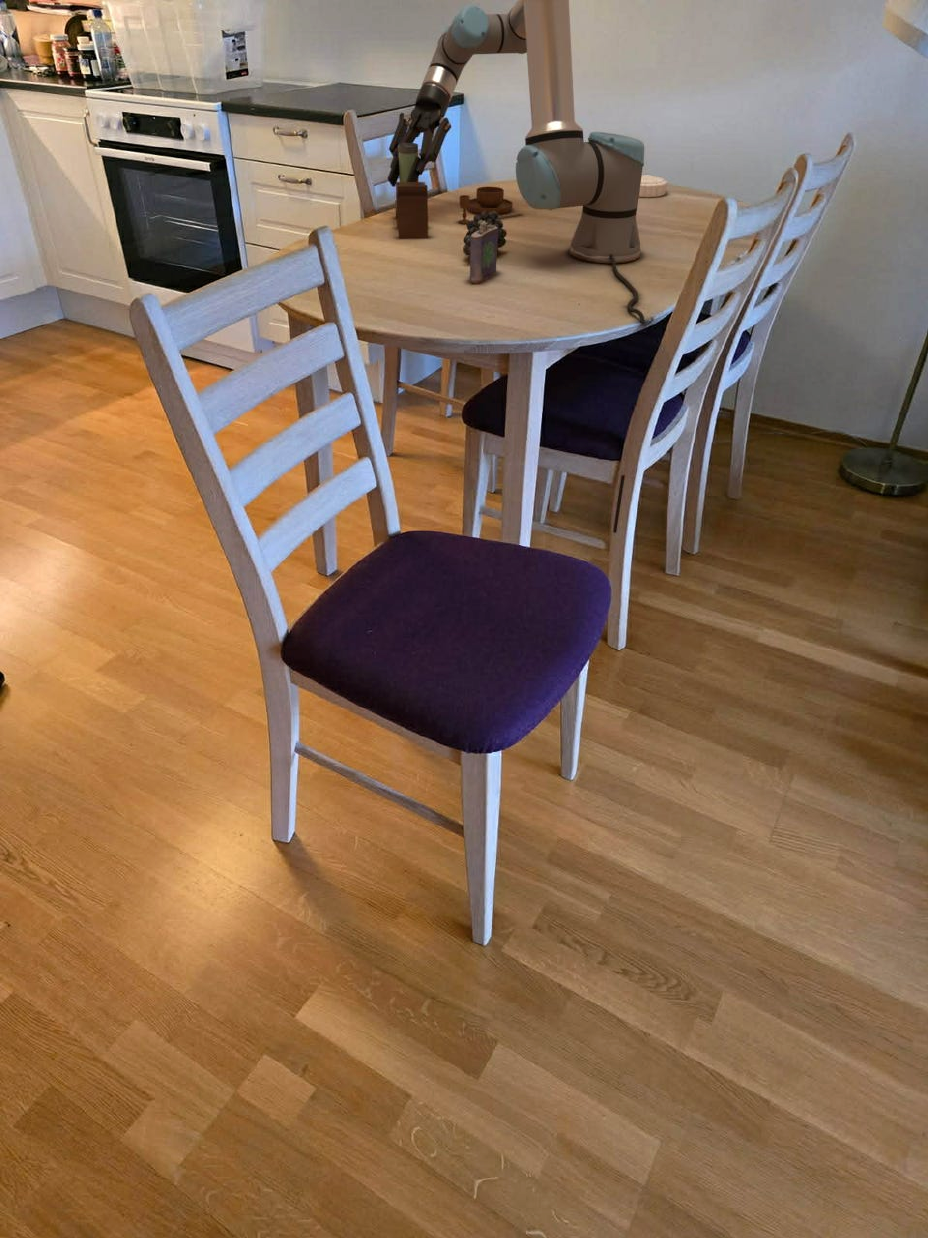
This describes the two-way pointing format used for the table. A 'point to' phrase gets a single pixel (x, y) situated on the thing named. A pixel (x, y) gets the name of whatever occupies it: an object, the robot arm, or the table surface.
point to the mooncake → (652, 186)
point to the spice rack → (412, 209)
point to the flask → (483, 253)
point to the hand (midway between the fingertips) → (400, 183)
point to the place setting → (486, 202)
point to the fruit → (491, 220)
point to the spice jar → (406, 159)
